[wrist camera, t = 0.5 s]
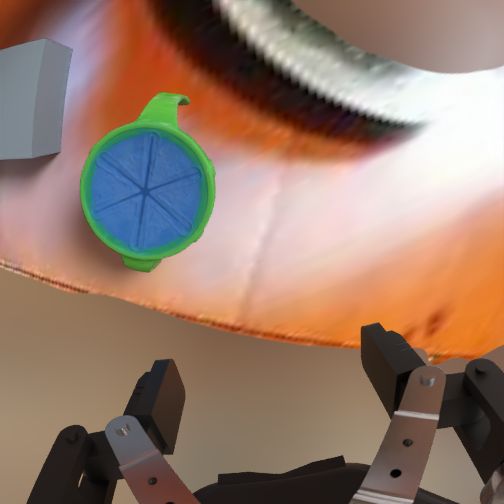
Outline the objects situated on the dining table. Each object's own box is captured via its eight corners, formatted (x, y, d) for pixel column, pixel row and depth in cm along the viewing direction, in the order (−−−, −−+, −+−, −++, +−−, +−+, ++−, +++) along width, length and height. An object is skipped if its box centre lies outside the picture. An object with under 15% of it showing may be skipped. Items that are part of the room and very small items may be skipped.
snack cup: (195, 256, 34) (184, 305, 24) (107, 229, 32) (67, 267, 23) (241, 117, 29) (248, 109, 19) (143, 89, 27) (107, 74, 17)
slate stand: (-11, 67, 22) (-39, 64, 17) (72, 49, 24) (46, 38, 18) (-19, 156, 26) (-48, 163, 21) (60, 152, 28) (31, 158, 23)
